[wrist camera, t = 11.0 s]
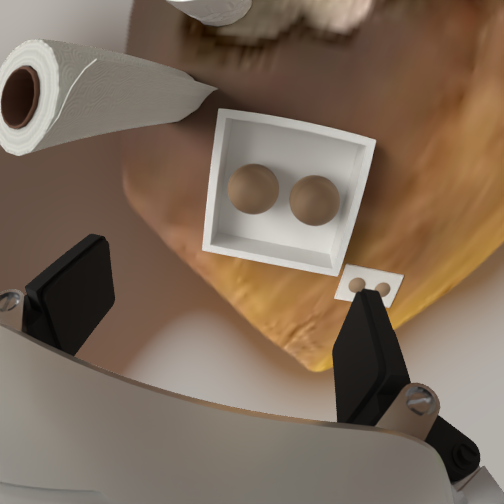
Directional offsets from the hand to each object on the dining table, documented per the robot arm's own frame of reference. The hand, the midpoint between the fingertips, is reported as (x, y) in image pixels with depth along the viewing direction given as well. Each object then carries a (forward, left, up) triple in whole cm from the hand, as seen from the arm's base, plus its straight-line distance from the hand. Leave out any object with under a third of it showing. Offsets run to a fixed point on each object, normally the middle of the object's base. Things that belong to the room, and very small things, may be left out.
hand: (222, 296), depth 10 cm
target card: (-15, +11, -23) cm, 30 cm away
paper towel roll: (+11, -7, -23) cm, 26 cm away
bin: (-2, +1, -23) cm, 23 cm away
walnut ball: (+1, +1, -20) cm, 20 cm away
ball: (-5, +1, -20) cm, 20 cm away
